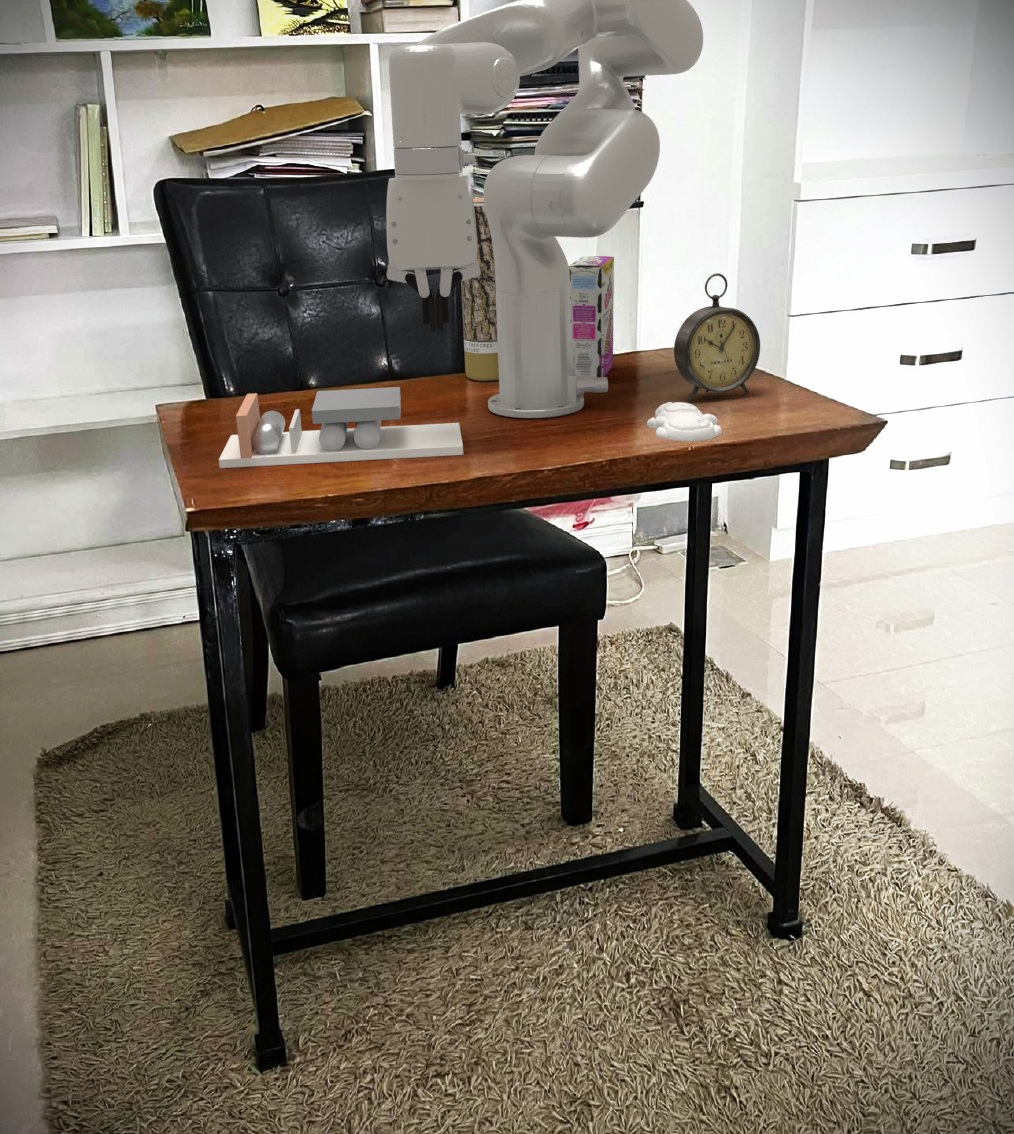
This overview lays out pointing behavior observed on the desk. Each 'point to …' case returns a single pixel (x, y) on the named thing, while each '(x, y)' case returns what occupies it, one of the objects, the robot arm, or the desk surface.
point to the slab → (356, 405)
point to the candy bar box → (592, 315)
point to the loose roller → (268, 433)
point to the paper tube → (481, 307)
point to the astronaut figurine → (683, 423)
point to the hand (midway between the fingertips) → (436, 330)
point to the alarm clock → (717, 347)
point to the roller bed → (352, 451)
